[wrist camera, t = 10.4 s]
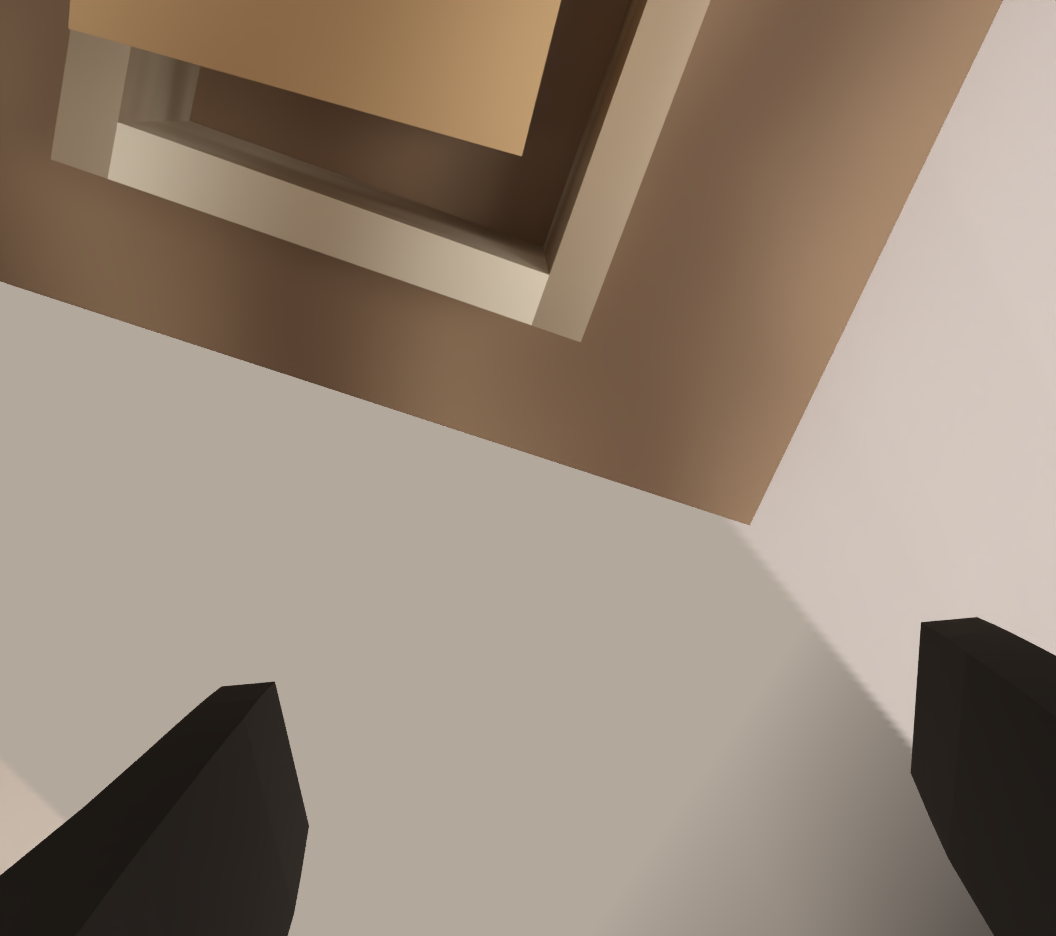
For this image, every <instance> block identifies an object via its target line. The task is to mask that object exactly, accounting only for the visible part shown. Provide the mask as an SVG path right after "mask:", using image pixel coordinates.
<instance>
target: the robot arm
mask: <svg viewBox="0 0 1056 936" xmlns="http://www.w3.org/2000/svg"><path fill="white" fill-rule="evenodd" d="M911 763H912V764H911V774H912V777H913V779H914V782H915V784H916V786H917V789H918V791H919V793H920V796H921V798H922V800H923V803H924V805H925V808H926V810H927V812H928V815H929V817H930V819H931V821H932V824H933V826H934V828H935V830H936V832H937V835H938V837H939V839H940V841H941V843H942V845H943V848H944V850H945V852H946V854H947V856H948V858H949V860H950V862H951V863H952V865H953V867H954V869H955V870H956V872H957V874H958V876H959V877H960V879H961V881H962V882H963V884H964V886H965V888H966V889H967V891H968V893H969V894H970V896H971V898H972V899H973V901H974V902H975V904H976V906H977V907H978V909H979V911H980V913H981V914H982V916H983V918H984V919H985V921H986V923H987V924H988V926H989V928H990V929H991V931H992V933H993V934H994V936H1056V656H1055V655H1053V654H1051V653H1049V652H1047V651H1046V650H1044V649H1042V648H1040V647H1038V646H1036V645H1034V644H1032V643H1030V642H1028V641H1026V640H1024V639H1022V638H1020V637H1018V636H1016V635H1014V634H1012V633H1010V632H1008V631H1006V630H1004V629H1002V628H1000V627H998V626H996V625H994V624H991V623H989V622H987V621H985V620H982V619H980V618H977V617H975V618H964V619H953V620H942V621H931V622H921V631H920V646H919V660H918V675H917V690H916V704H915V719H914V733H913V748H912V762H911ZM308 828H309V825H308V820H307V816H306V812H305V808H304V803H303V799H302V795H301V791H300V787H299V782H298V778H297V774H296V769H295V765H294V761H293V757H292V753H291V748H290V744H289V740H288V736H287V731H286V727H285V723H284V718H283V714H282V710H281V706H280V701H279V698H278V693H277V689H276V685H275V682H266V683H256V684H244V685H233V686H223V687H220V688H219V689H218V690H217V691H216V692H214V693H213V694H211V695H210V696H209V697H208V698H206V699H205V700H204V701H203V702H202V703H200V704H199V705H198V706H197V707H196V708H195V709H194V710H192V711H191V712H190V713H189V714H188V715H187V716H186V717H184V718H183V719H182V720H181V721H180V722H179V723H178V724H177V725H175V726H174V727H173V728H172V729H171V730H170V731H169V732H168V733H167V734H165V735H164V736H163V737H162V738H161V739H160V740H159V741H158V742H157V743H156V744H154V745H153V746H152V747H151V748H150V749H149V750H148V751H147V752H146V753H144V754H143V756H141V757H140V758H139V759H138V760H137V761H135V762H134V763H133V764H132V765H131V766H130V767H129V768H128V769H126V770H125V771H124V772H123V773H122V774H121V775H120V776H118V777H117V778H116V779H115V780H114V781H113V782H112V783H111V784H109V785H108V786H107V787H106V788H105V789H104V790H103V791H101V792H100V793H99V794H98V795H97V796H96V797H95V798H94V799H92V800H91V801H90V802H89V803H88V804H87V805H86V806H85V807H83V808H82V809H81V810H80V811H78V812H77V813H76V814H75V815H74V816H72V817H71V818H70V819H69V820H67V821H66V822H65V823H64V824H63V825H61V826H60V827H59V828H58V829H57V830H55V831H54V832H53V833H52V834H50V835H49V836H48V837H47V838H46V839H44V840H43V841H42V842H41V843H39V844H38V845H37V846H36V847H35V848H33V849H32V850H31V851H30V852H28V853H27V854H26V855H25V856H24V857H22V858H21V859H20V860H19V861H17V862H16V863H15V864H14V865H13V866H11V867H10V868H9V869H8V870H6V871H5V872H4V873H3V874H2V875H0V936H287V935H288V932H289V929H290V925H291V922H292V918H293V915H294V910H295V905H296V899H297V894H298V888H299V883H300V878H301V871H302V865H303V859H304V853H305V847H306V840H307V834H308Z"/></svg>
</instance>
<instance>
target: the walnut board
mask: <svg viewBox="0 0 1056 936" xmlns="http://www.w3.org/2000/svg"><path fill="white" fill-rule="evenodd" d="M1002 1H1003V0H561V3H560V7H559V11H558V15H557V19H556V23H555V27H554V31H553V35H552V39H551V42H550V46H549V50H548V54H547V58H546V62H545V66H544V70H543V74H542V78H541V82H540V86H539V90H538V94H537V98H536V102H535V106H534V110H533V114H532V118H531V122H530V126H529V130H528V134H527V138H526V142H525V146H524V150H523V154H522V156H518V155H515V154H511V153H508V152H504V151H501V150H497V149H494V148H490V147H486V146H483V145H479V144H476V143H472V142H469V141H465V140H462V139H458V138H455V137H451V136H447V135H444V134H440V133H437V132H433V131H430V130H426V129H423V128H419V127H416V126H412V125H408V124H405V123H401V122H398V121H394V120H391V119H387V118H384V117H380V116H377V115H373V114H370V113H366V112H362V111H359V110H355V109H352V108H348V107H345V106H341V105H338V104H334V103H331V102H327V101H323V100H320V99H316V98H313V97H309V96H306V95H302V94H299V93H295V92H292V91H288V90H284V89H281V88H277V87H274V86H270V85H267V84H263V83H260V82H256V81H253V80H249V79H245V78H242V77H238V76H235V75H231V74H228V73H224V72H221V71H217V70H214V69H210V68H207V67H203V66H199V65H196V64H192V63H189V62H185V61H182V60H178V59H175V58H171V57H168V56H164V55H160V54H157V53H153V52H150V51H146V50H143V49H139V48H136V47H132V46H129V45H125V44H121V43H118V42H114V41H111V40H107V39H104V38H100V37H97V36H93V35H90V34H86V33H82V32H79V31H75V30H72V29H68V24H69V11H70V0H0V281H1V282H5V283H7V284H10V285H13V286H16V287H19V288H23V289H25V290H29V291H32V292H35V293H38V294H41V295H44V296H47V297H50V298H53V299H56V300H60V301H63V302H66V303H69V304H72V305H75V306H78V307H81V308H84V309H87V310H90V311H93V312H96V313H99V314H103V315H105V316H109V317H111V318H115V319H118V320H121V321H124V322H127V323H130V324H133V325H136V326H139V327H142V328H145V329H148V330H151V331H155V332H158V333H161V334H164V335H167V336H170V337H173V338H176V339H179V340H182V341H185V342H189V343H191V344H194V345H198V346H201V347H204V348H207V349H210V350H213V351H216V352H219V353H222V354H225V355H228V356H232V357H234V358H238V359H241V360H244V361H247V362H250V363H253V364H256V365H259V366H262V367H265V368H268V369H271V370H275V371H277V372H280V373H284V374H287V375H290V376H293V377H296V378H299V379H302V380H305V381H308V382H311V383H314V384H318V385H321V386H324V387H327V388H330V389H333V390H336V391H339V392H342V393H345V394H349V395H351V396H354V397H357V398H360V399H363V400H367V401H370V402H373V403H376V404H379V405H382V406H385V407H388V408H391V409H394V410H397V411H400V412H403V413H407V414H409V415H413V416H416V417H419V418H422V419H425V420H428V421H431V422H434V423H437V424H440V425H443V426H446V427H449V428H453V429H456V430H459V431H462V432H465V433H468V434H471V435H474V436H477V437H480V438H483V439H486V440H489V441H492V442H496V443H499V444H502V445H505V446H508V447H511V448H514V449H517V450H520V451H523V452H526V453H529V454H532V455H535V456H539V457H542V458H545V459H548V460H551V461H554V462H557V463H560V464H563V465H566V466H569V467H572V468H575V469H579V470H582V471H585V472H588V473H591V474H594V475H597V476H600V477H603V478H606V479H609V480H612V481H615V482H618V483H621V484H625V485H628V486H631V487H634V488H637V489H640V490H643V491H646V492H649V493H652V494H655V495H658V496H661V497H665V498H668V499H671V500H674V501H677V502H680V503H683V504H686V505H689V506H692V507H695V508H698V509H701V510H704V511H707V512H710V513H714V514H717V515H720V516H723V517H726V518H729V519H732V520H735V521H738V522H741V523H744V524H747V525H750V523H751V521H752V519H753V517H754V515H755V513H756V511H757V509H758V507H759V505H760V503H761V501H762V499H763V496H764V494H765V492H766V490H767V488H768V486H769V484H770V482H771V480H772V478H773V476H774V474H775V472H776V470H777V467H778V465H779V463H780V461H781V459H782V457H783V455H784V453H785V451H786V449H787V447H788V445H789V443H790V441H791V438H792V436H793V434H794V432H795V430H796V428H797V426H798V424H799V422H800V420H801V418H802V416H803V414H804V412H805V409H806V407H807V405H808V403H809V401H810V399H811V397H812V395H813V393H814V391H815V389H816V387H817V385H818V383H819V380H820V378H821V376H822V374H823V372H824V370H825V368H826V366H827V364H828V362H829V360H830V358H831V356H832V354H833V351H834V349H835V347H836V345H837V343H838V341H839V339H840V337H841V335H842V333H843V331H844V329H845V327H846V325H847V322H848V320H849V318H850V316H851V314H852V312H853V310H854V308H855V306H856V304H857V302H858V300H859V298H860V295H861V293H862V291H863V289H864V287H865V285H866V283H867V281H868V279H869V277H870V275H871V273H872V271H873V269H874V266H875V264H876V262H877V260H878V258H879V256H880V254H881V252H882V250H883V248H884V246H885V244H886V242H887V240H888V237H889V235H890V233H891V231H892V229H893V227H894V225H895V223H896V221H897V219H898V217H899V215H900V213H901V211H902V208H903V206H904V204H905V202H906V200H907V198H908V196H909V194H910V192H911V190H912V188H913V186H914V184H915V182H916V179H917V177H918V175H919V173H920V171H921V169H922V167H923V165H924V163H925V161H926V159H927V157H928V155H929V153H930V150H931V148H932V146H933V144H934V142H935V140H936V138H937V136H938V134H939V132H940V130H941V128H942V126H943V124H944V121H945V119H946V117H947V115H948V113H949V111H950V109H951V107H952V105H953V103H954V101H955V99H956V97H957V95H958V92H959V90H960V88H961V86H962V84H963V82H964V80H965V78H966V76H967V74H968V72H969V70H970V68H971V65H972V63H973V61H974V59H975V57H976V55H977V53H978V51H979V49H980V47H981V45H982V43H983V41H984V39H985V36H986V34H987V32H988V30H989V28H990V26H991V24H992V22H993V20H994V18H995V16H996V14H997V12H998V10H999V7H1000V5H1001V3H1002Z"/></svg>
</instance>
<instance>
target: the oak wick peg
mask: <svg viewBox="0 0 1056 936" xmlns="http://www.w3.org/2000/svg"><path fill="white" fill-rule="evenodd" d="M560 3H561V0H70V11H69V24H68V29H72V30H75V31H79V32H82V33H86V34H90V35H93V36H97V37H100V38H104V39H107V40H111V41H114V42H118V43H121V44H125V45H129V46H132V47H136V48H139V49H143V50H146V51H150V52H153V53H157V54H160V55H164V56H168V57H171V58H175V59H178V60H182V61H185V62H189V63H192V64H196V65H199V66H203V67H207V68H210V69H214V70H217V71H221V72H224V73H228V74H231V75H235V76H238V77H242V78H245V79H249V80H253V81H256V82H260V83H263V84H267V85H270V86H274V87H277V88H281V89H284V90H288V91H292V92H295V93H299V94H302V95H306V96H309V97H313V98H316V99H320V100H323V101H327V102H331V103H334V104H338V105H341V106H345V107H348V108H352V109H355V110H359V111H362V112H366V113H370V114H373V115H377V116H380V117H384V118H387V119H391V120H394V121H398V122H401V123H405V124H408V125H412V126H416V127H419V128H423V129H426V130H430V131H433V132H437V133H440V134H444V135H447V136H451V137H455V138H458V139H462V140H465V141H469V142H472V143H476V144H479V145H483V146H486V147H490V148H494V149H497V150H501V151H504V152H508V153H511V154H515V155H518V156H522V154H523V150H524V146H525V142H526V138H527V134H528V130H529V126H530V122H531V118H532V114H533V110H534V106H535V102H536V98H537V94H538V90H539V86H540V82H541V78H542V74H543V70H544V66H545V62H546V58H547V54H548V50H549V46H550V42H551V39H552V35H553V31H554V27H555V23H556V19H557V15H558V11H559V7H560Z"/></svg>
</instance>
